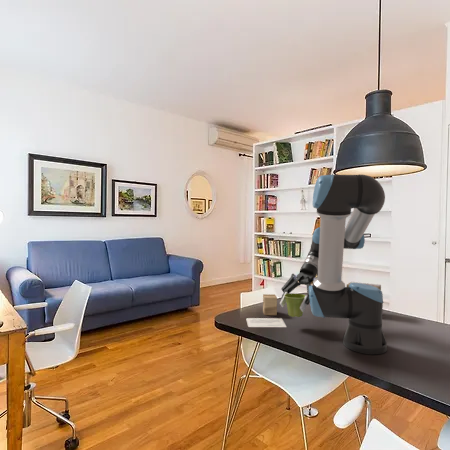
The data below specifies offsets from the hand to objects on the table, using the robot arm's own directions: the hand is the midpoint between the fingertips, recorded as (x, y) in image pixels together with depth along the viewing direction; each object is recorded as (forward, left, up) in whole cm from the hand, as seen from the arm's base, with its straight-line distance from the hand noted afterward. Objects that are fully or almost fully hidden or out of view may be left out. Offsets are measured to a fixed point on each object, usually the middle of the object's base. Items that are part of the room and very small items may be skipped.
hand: (291, 307), depth 140 cm
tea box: (+25, -42, -10) cm, 50 cm away
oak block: (+23, +6, -10) cm, 25 cm away
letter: (+9, +10, -10) cm, 16 cm away
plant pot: (+2, -2, -4) cm, 5 cm away
